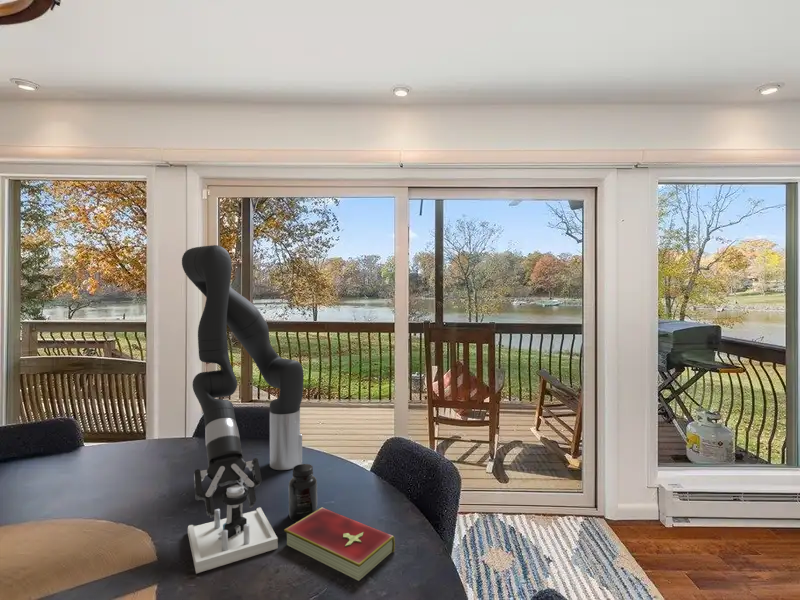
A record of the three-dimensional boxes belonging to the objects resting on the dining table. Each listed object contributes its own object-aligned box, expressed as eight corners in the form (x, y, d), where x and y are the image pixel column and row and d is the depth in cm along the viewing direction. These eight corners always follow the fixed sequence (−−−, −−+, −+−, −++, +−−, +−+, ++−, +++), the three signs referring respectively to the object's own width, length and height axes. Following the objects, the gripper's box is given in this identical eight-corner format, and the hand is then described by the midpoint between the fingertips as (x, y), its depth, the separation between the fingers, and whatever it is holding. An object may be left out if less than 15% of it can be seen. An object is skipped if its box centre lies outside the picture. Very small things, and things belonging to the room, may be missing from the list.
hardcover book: (323, 522, 104) (323, 505, 104) (394, 553, 93) (394, 533, 93) (284, 547, 94) (284, 528, 94) (359, 585, 83) (359, 563, 83)
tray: (259, 514, 107) (259, 493, 107) (277, 548, 93) (277, 524, 93) (187, 533, 99) (187, 510, 98) (196, 573, 85) (195, 547, 85)
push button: (226, 545, 92) (227, 500, 92) (210, 536, 95) (211, 492, 94) (251, 530, 98) (253, 487, 97) (236, 522, 101) (237, 480, 100)
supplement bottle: (322, 511, 109) (322, 464, 108) (307, 525, 102) (308, 475, 102) (298, 506, 111) (298, 460, 110) (283, 520, 104) (282, 471, 104)
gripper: (191, 440, 98) (198, 513, 88) (256, 429, 105) (269, 496, 96) (189, 455, 103) (195, 526, 93) (251, 444, 110) (263, 509, 101)
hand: (232, 511), depth 94 cm, fingers open, 7 cm apart
